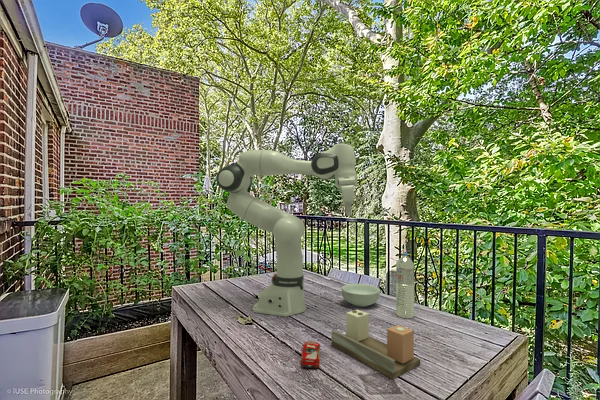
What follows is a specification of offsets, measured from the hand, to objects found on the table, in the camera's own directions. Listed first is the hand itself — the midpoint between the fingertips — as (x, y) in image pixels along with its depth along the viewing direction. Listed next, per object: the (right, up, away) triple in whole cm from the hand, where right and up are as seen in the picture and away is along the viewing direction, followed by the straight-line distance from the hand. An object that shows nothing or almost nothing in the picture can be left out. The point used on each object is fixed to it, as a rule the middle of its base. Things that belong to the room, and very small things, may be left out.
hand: (348, 215), depth 123 cm
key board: (+2, -39, -34) cm, 52 cm away
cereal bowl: (+7, -40, +11) cm, 42 cm away
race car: (-17, -39, -37) cm, 56 cm away
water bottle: (+22, -40, -3) cm, 46 cm away
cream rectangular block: (-2, -37, -27) cm, 46 cm away
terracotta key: (+8, -37, -40) cm, 55 cm away
